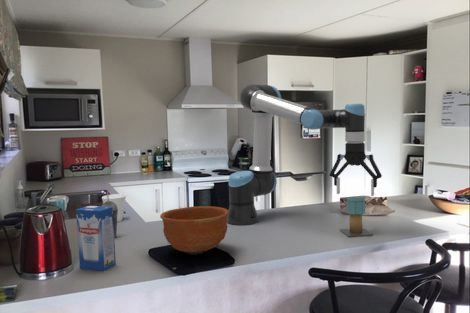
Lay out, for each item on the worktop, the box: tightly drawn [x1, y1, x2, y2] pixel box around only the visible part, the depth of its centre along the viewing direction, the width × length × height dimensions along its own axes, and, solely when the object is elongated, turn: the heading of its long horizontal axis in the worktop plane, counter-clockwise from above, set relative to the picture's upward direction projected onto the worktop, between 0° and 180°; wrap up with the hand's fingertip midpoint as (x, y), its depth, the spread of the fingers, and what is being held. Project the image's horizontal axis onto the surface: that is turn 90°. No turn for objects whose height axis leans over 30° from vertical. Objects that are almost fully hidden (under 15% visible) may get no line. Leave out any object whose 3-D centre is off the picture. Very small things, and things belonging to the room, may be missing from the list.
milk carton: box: [75, 205, 117, 272], centre depth 135 cm, size 10×6×20 cm, turn 69°
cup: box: [101, 193, 127, 223], centre depth 202 cm, size 12×12×12 cm
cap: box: [346, 196, 366, 215], centre depth 164 cm, size 7×7×6 cm
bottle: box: [339, 213, 374, 238], centre depth 164 cm, size 10×10×13 cm
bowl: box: [159, 205, 229, 253], centre depth 146 cm, size 25×25×15 cm
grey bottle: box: [101, 190, 118, 239], centre depth 170 cm, size 7×7×20 cm
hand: (355, 194), depth 164 cm, fingers open, 13 cm apart
